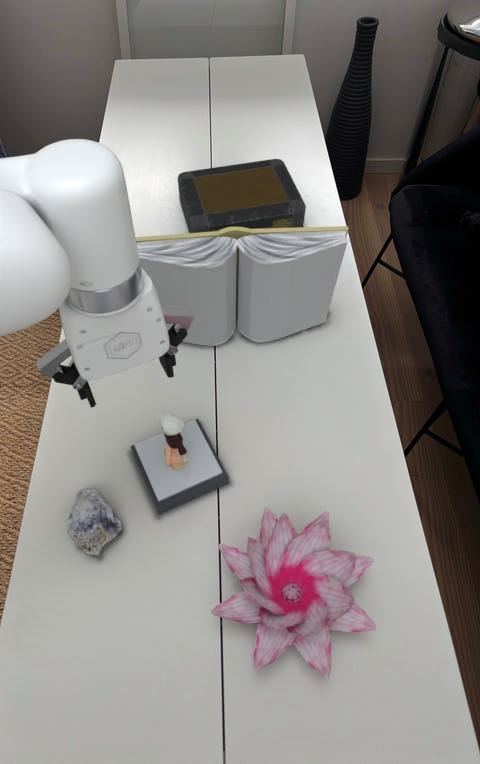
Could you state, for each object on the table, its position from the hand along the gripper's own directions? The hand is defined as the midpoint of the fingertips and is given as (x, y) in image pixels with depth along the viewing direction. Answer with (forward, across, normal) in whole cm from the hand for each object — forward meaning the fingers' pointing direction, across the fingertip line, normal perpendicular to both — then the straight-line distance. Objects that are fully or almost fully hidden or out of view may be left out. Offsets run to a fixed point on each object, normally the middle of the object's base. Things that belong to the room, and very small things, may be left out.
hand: (129, 383), depth 65 cm
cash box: (+27, +42, +54) cm, 73 cm away
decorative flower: (+28, +11, -25) cm, 39 cm away
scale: (+28, +5, +1) cm, 28 cm away
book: (+28, +26, +24) cm, 45 cm away
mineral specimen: (+28, -10, -2) cm, 30 cm away
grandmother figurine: (+25, +4, +1) cm, 25 cm away
